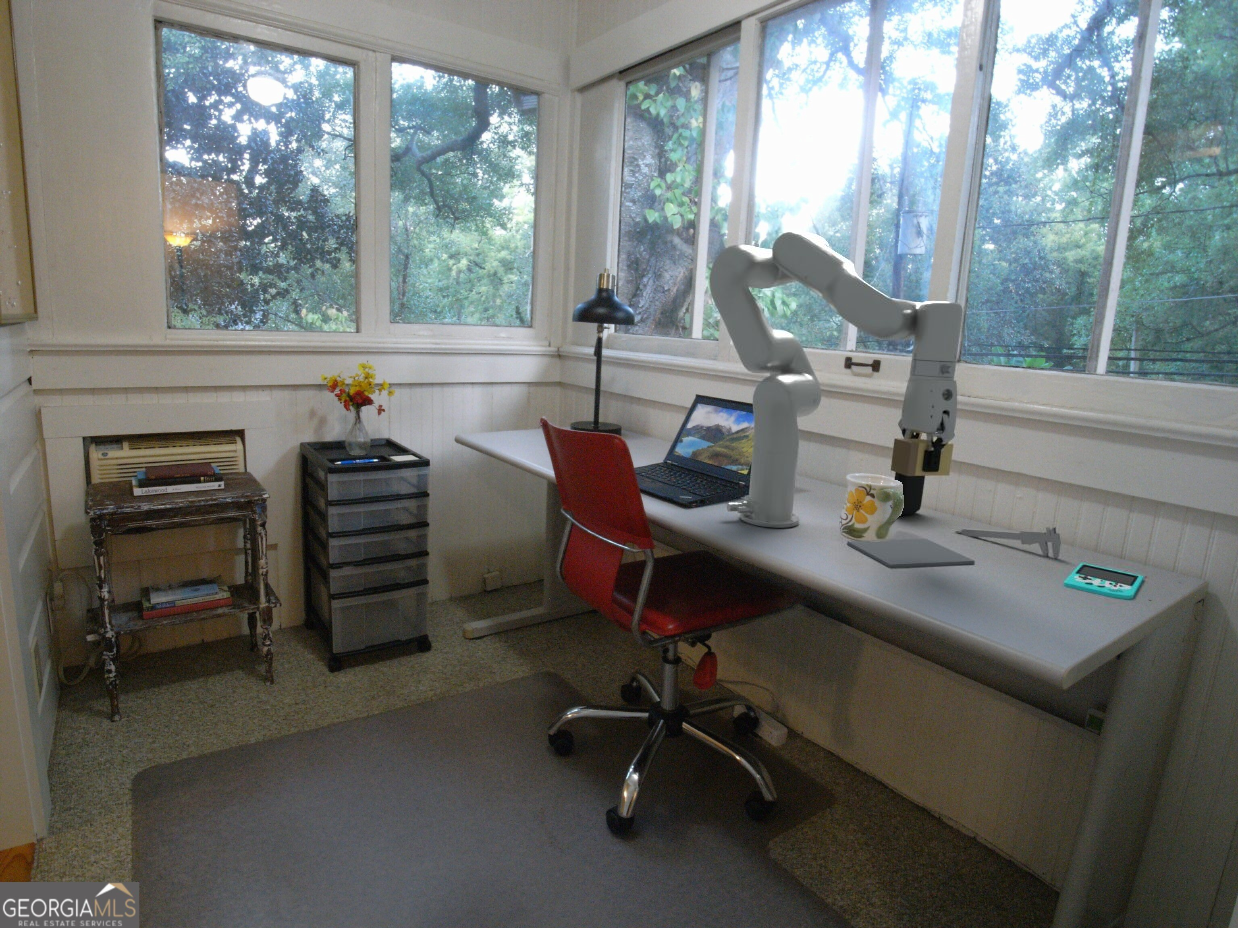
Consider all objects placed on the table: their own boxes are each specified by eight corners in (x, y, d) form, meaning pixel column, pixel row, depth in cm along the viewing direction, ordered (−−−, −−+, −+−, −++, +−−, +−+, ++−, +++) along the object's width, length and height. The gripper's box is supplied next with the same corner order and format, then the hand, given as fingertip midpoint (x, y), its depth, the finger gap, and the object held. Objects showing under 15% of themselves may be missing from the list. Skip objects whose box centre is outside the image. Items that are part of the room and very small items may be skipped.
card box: (949, 475, 138) (953, 443, 137) (907, 475, 136) (911, 442, 134) (931, 470, 143) (935, 438, 142) (890, 470, 140) (894, 438, 139)
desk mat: (890, 567, 133) (890, 564, 133) (847, 544, 147) (847, 541, 146) (974, 563, 138) (974, 560, 138) (925, 541, 151) (925, 538, 151)
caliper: (1058, 559, 144) (1063, 528, 143) (1055, 560, 144) (1061, 529, 142) (957, 533, 160) (961, 504, 159) (954, 533, 159) (958, 505, 158)
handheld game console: (1060, 588, 129) (1062, 580, 128) (1078, 567, 141) (1079, 561, 140) (1129, 604, 122) (1131, 596, 122) (1142, 582, 134) (1144, 574, 134)
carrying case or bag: (913, 510, 177) (921, 449, 174) (925, 513, 175) (933, 452, 172) (887, 515, 171) (894, 452, 168) (898, 519, 169) (906, 455, 166)
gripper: (983, 375, 129) (969, 478, 132) (920, 367, 145) (908, 459, 148) (946, 374, 127) (932, 478, 130) (886, 366, 143) (875, 459, 146)
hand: (920, 467), depth 139 cm, fingers closed on card box, 4 cm apart
